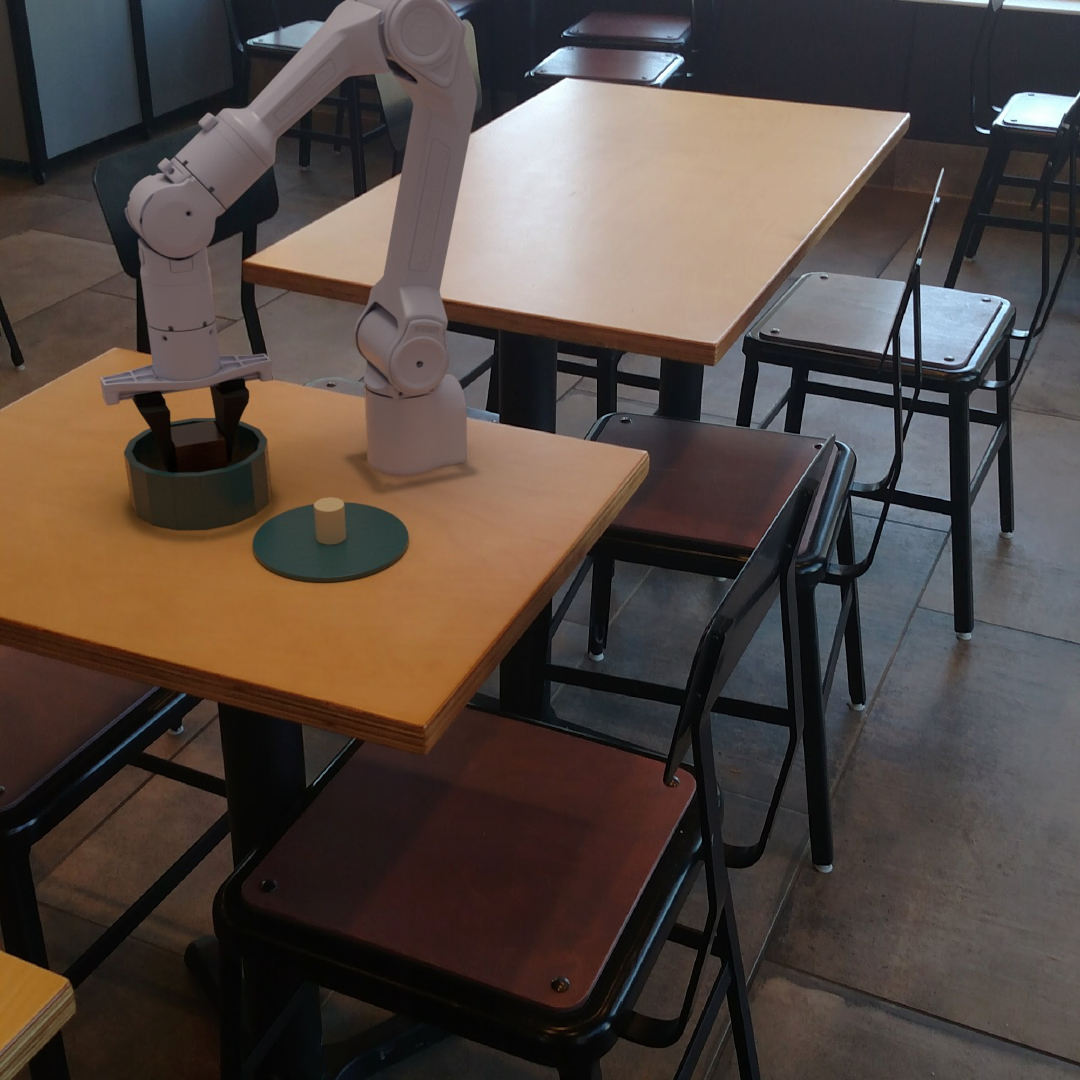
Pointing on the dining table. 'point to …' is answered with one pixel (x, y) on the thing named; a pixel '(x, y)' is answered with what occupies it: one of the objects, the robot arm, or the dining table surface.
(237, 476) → the container
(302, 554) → the cover
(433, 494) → the dining table surface
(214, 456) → the block
